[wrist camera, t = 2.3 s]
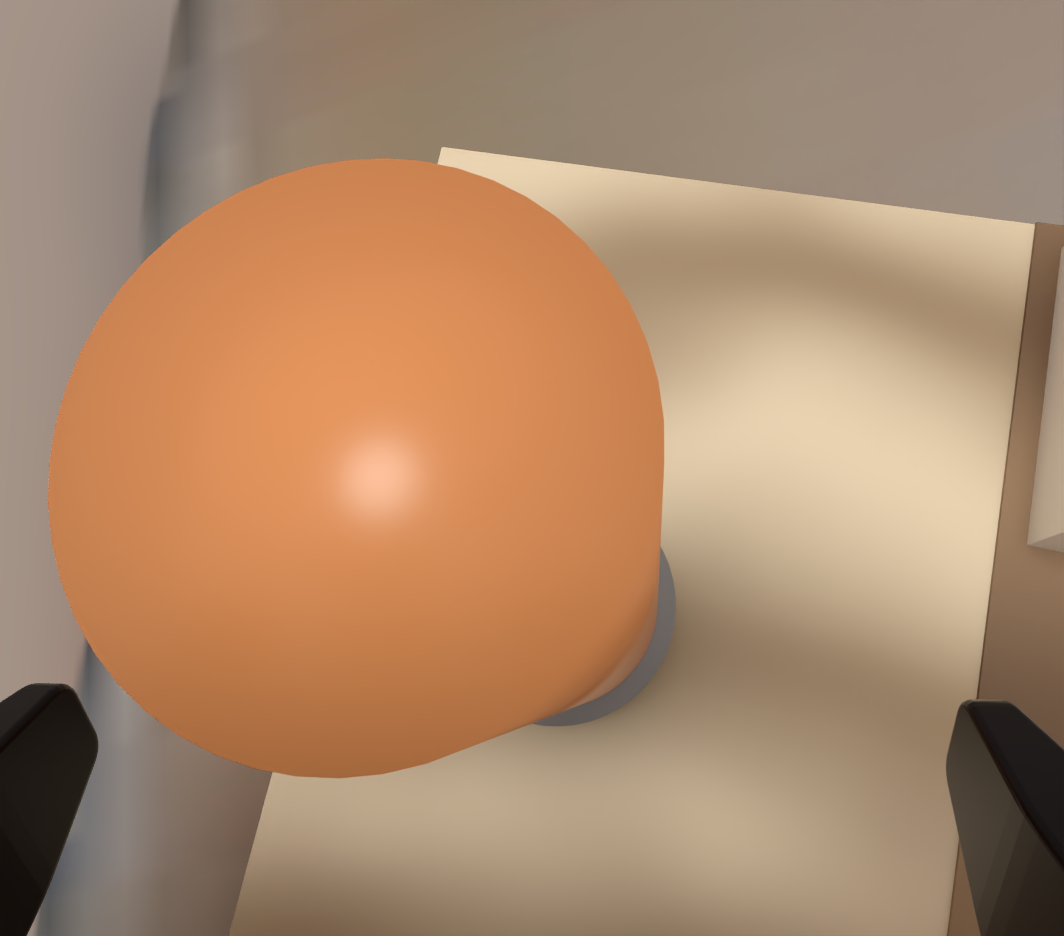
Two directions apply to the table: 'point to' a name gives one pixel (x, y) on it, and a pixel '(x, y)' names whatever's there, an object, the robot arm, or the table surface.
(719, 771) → the subfloor board
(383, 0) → the table surface
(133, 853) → the table surface
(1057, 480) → the block
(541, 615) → the awl
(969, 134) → the table surface
